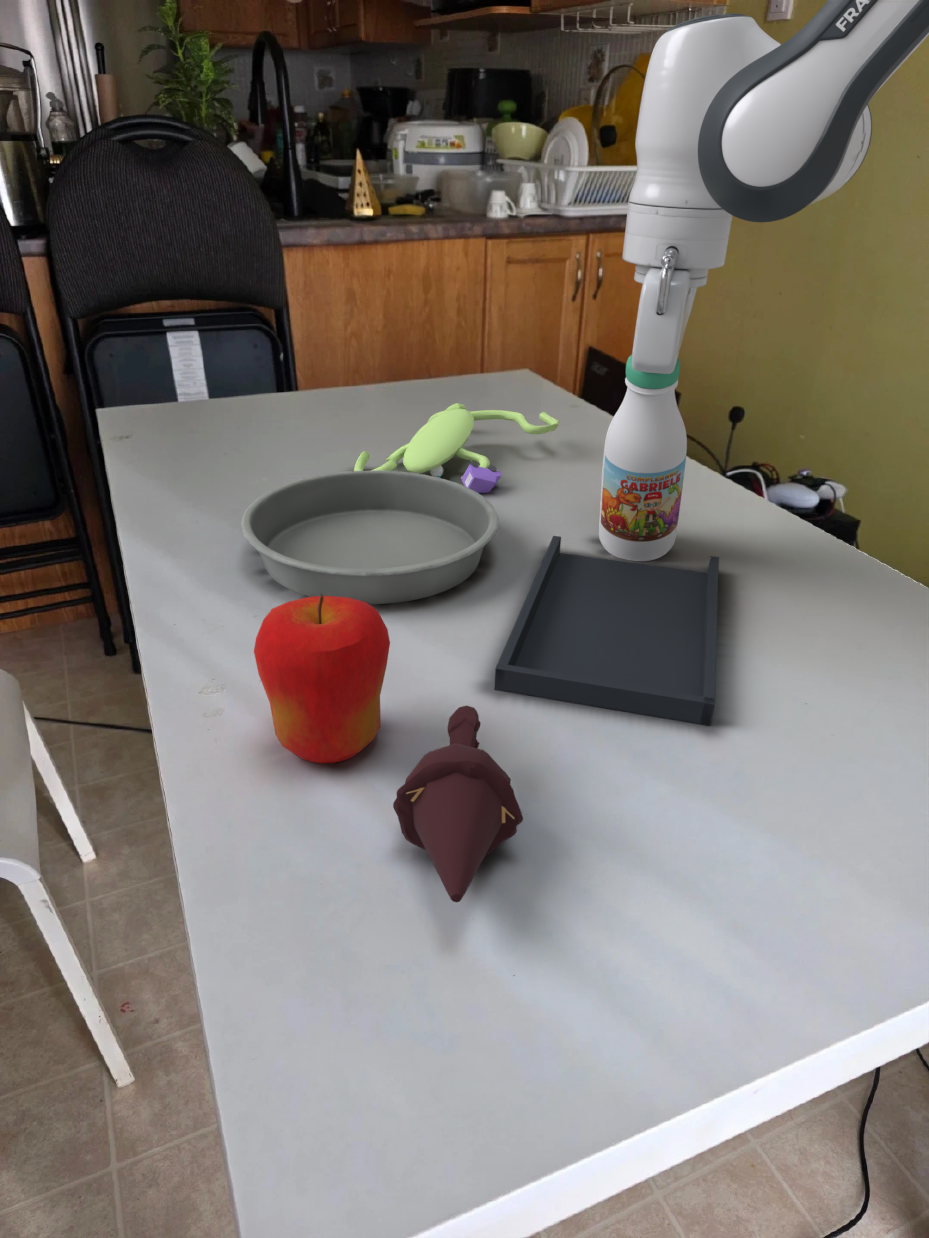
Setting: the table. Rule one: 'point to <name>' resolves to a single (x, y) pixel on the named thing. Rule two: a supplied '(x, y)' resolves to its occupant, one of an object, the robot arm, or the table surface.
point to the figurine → (454, 445)
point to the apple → (323, 675)
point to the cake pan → (370, 534)
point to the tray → (616, 637)
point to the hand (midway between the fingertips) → (653, 399)
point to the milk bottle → (643, 468)
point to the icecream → (458, 805)
